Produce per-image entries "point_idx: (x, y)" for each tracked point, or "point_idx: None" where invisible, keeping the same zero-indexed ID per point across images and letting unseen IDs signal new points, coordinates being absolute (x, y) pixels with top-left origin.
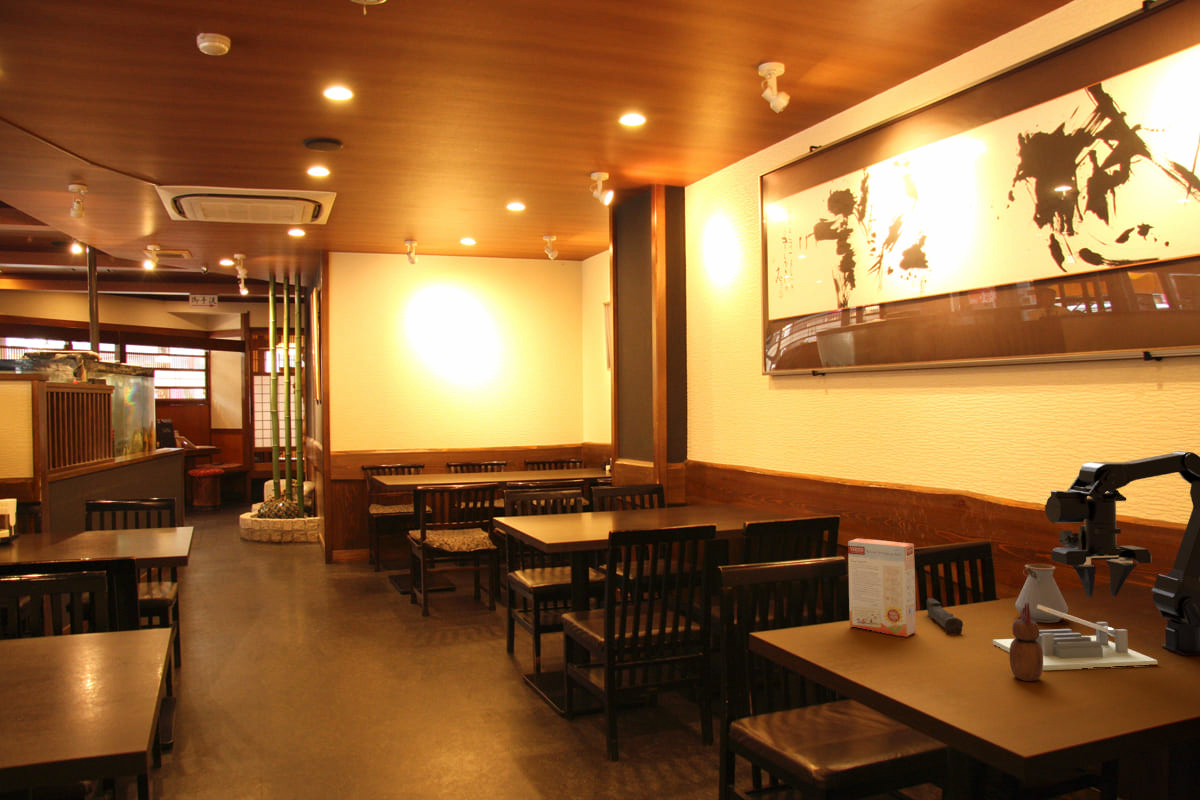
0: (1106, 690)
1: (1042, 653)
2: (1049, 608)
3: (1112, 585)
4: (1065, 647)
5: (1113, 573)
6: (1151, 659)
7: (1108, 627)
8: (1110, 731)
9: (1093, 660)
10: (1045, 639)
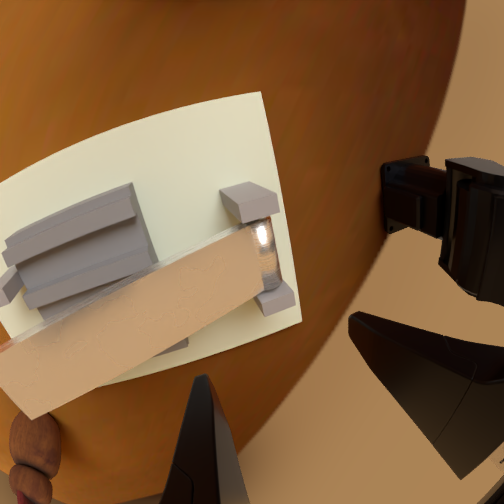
0: (149, 443)
1: (59, 463)
2: (23, 371)
3: (385, 356)
4: None
5: (448, 397)
6: (293, 318)
7: (262, 248)
8: (135, 496)
9: (154, 357)
10: None
